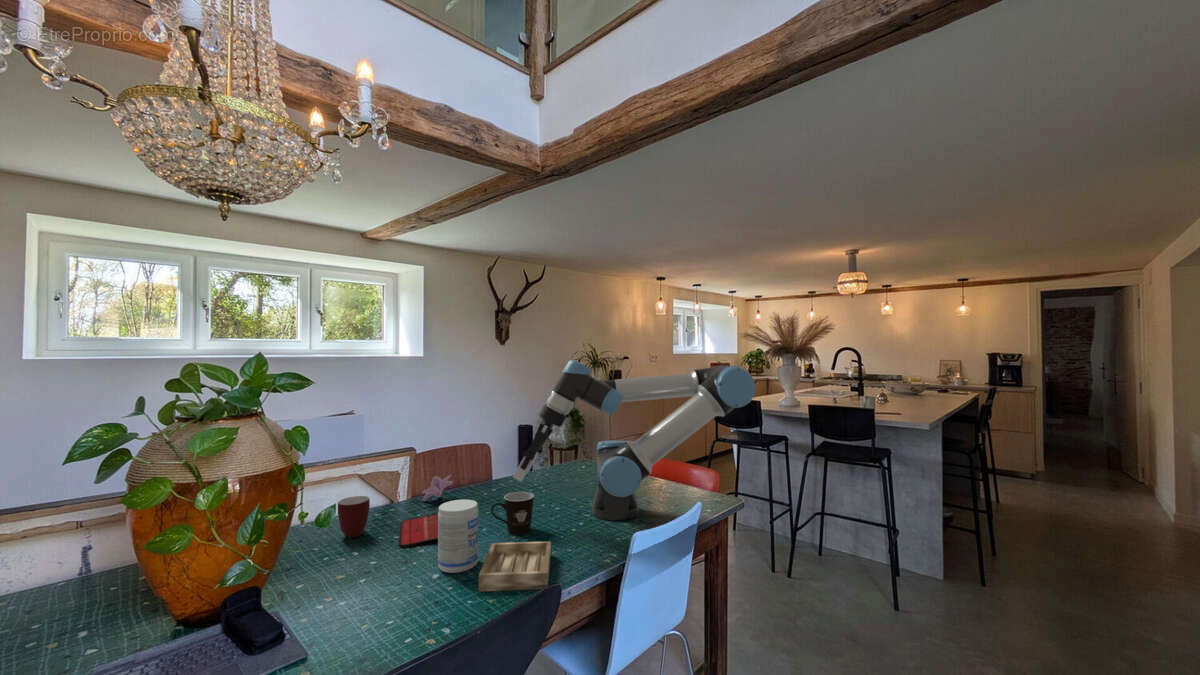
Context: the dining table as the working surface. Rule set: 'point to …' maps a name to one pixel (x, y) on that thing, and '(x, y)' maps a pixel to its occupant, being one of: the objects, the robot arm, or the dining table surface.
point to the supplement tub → (457, 536)
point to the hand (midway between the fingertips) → (520, 474)
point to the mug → (353, 515)
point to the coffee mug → (517, 512)
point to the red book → (419, 531)
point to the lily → (437, 487)
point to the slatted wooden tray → (516, 566)
